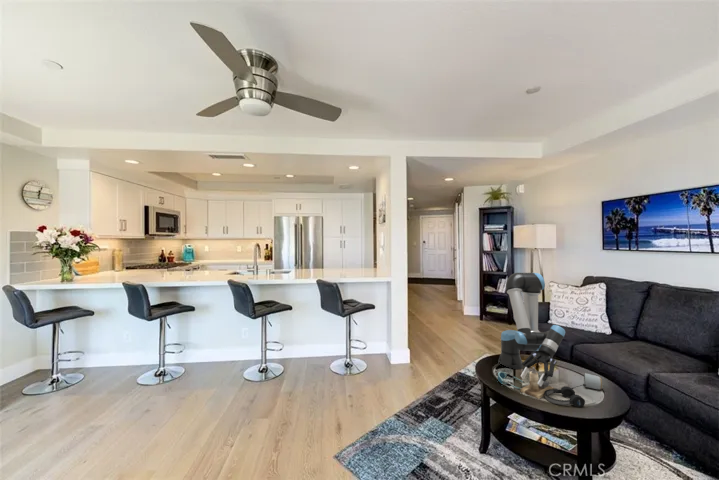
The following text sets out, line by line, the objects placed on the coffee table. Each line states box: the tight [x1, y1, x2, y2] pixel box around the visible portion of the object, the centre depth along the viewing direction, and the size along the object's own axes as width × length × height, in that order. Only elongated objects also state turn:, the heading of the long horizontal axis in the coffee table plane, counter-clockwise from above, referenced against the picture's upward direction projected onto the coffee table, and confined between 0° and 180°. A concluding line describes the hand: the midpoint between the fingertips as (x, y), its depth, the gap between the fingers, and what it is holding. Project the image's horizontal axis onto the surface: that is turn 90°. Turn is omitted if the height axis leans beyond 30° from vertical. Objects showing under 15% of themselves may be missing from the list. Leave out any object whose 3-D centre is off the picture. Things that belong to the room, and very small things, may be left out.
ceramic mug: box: [583, 372, 603, 391], centre depth 176 cm, size 11×8×8 cm
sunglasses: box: [496, 371, 526, 390], centre depth 180 cm, size 14×15×5 cm
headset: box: [544, 383, 586, 408], centre depth 160 cm, size 14×10×20 cm
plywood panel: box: [519, 383, 555, 400], centre depth 170 cm, size 10×18×2 cm, turn 125°
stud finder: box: [539, 380, 550, 389], centre depth 174 cm, size 5×6×3 cm
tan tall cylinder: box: [528, 366, 540, 392], centre depth 169 cm, size 4×4×12 cm
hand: (530, 381), depth 167 cm, fingers open, 9 cm apart
